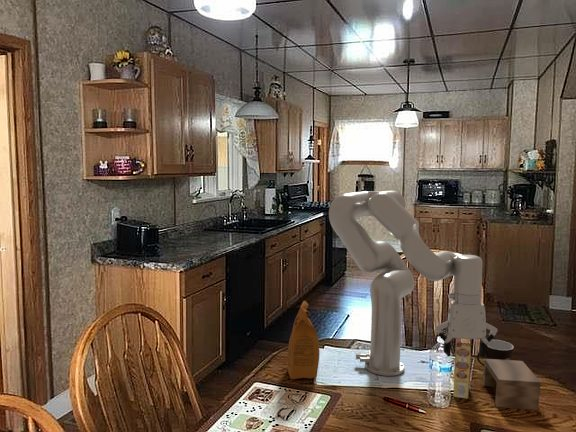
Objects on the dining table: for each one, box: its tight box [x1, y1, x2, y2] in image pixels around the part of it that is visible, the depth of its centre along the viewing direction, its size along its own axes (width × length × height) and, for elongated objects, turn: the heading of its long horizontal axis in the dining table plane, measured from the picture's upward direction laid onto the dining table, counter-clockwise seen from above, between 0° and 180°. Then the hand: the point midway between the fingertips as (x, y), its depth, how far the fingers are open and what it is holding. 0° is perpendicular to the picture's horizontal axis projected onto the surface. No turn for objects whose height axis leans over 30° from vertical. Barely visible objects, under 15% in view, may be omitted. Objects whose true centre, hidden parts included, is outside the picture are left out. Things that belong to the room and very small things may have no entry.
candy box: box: [453, 338, 472, 400], centre depth 147 cm, size 9×4×15 cm, turn 162°
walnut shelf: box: [482, 358, 542, 411], centre depth 145 cm, size 11×14×8 cm
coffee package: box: [286, 300, 320, 380], centre depth 158 cm, size 10×12×22 cm
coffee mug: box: [476, 339, 515, 367], centre depth 159 cm, size 12×9×10 cm
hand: (464, 355), depth 146 cm, fingers open, 9 cm apart
